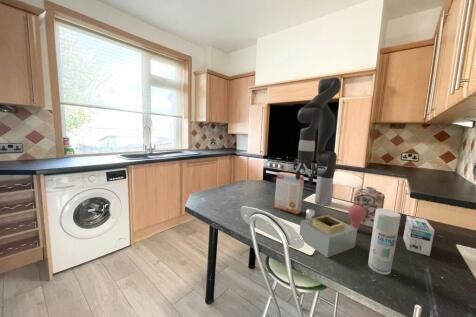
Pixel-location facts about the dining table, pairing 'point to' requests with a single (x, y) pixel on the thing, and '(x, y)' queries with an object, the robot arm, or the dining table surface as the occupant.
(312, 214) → the pellet
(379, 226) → the spray can
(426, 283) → the dining table surface
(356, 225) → the light bulb
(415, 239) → the light bulb box
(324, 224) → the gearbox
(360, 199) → the decorative jar
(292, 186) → the cracker box
